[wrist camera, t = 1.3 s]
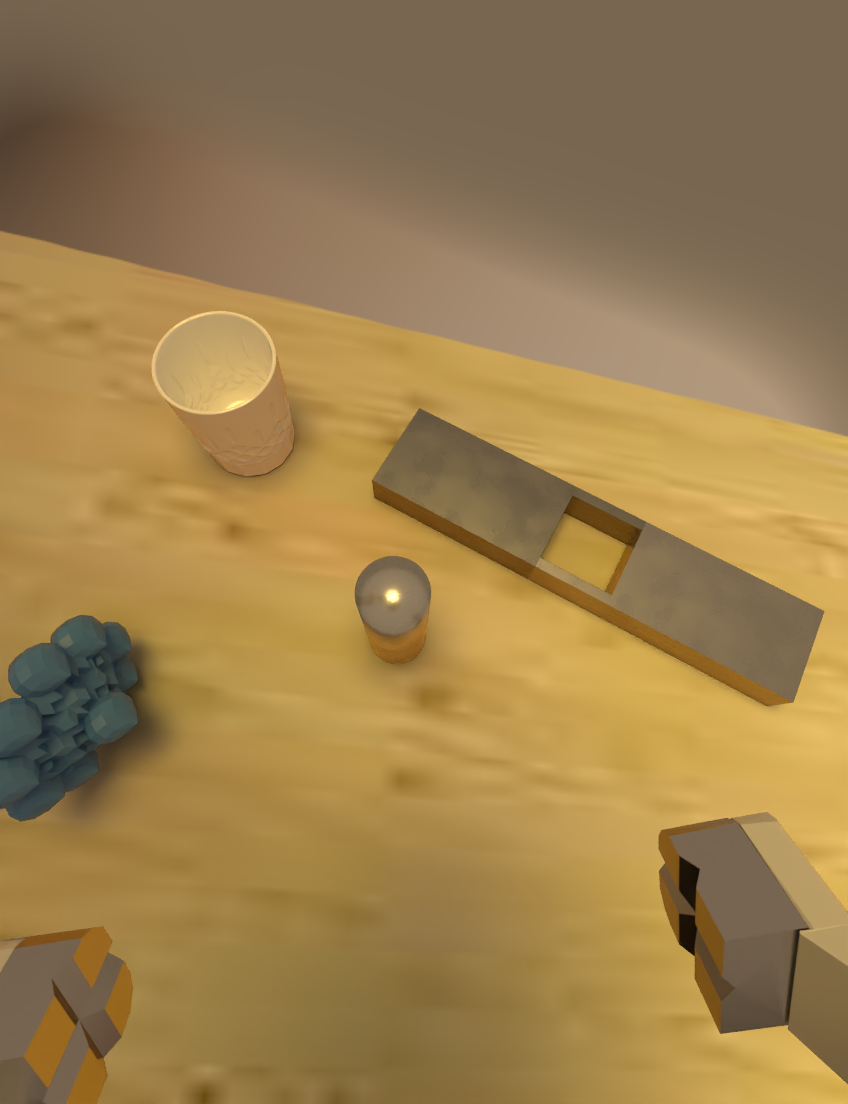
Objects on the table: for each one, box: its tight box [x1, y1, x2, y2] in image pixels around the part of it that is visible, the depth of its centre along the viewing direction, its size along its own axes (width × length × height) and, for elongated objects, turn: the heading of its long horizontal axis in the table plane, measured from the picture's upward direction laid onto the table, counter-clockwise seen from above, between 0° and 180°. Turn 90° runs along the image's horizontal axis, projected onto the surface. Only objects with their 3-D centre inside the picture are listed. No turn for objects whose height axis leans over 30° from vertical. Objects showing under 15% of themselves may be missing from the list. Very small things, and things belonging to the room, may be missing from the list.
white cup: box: [151, 311, 295, 477], centre depth 42 cm, size 8×8×10 cm
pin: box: [355, 556, 431, 664], centre depth 37 cm, size 4×4×12 cm
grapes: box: [0, 615, 138, 821], centre depth 34 cm, size 12×7×12 cm, turn 171°
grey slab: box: [372, 408, 824, 706], centre depth 43 cm, size 32×7×3 cm, turn 61°
